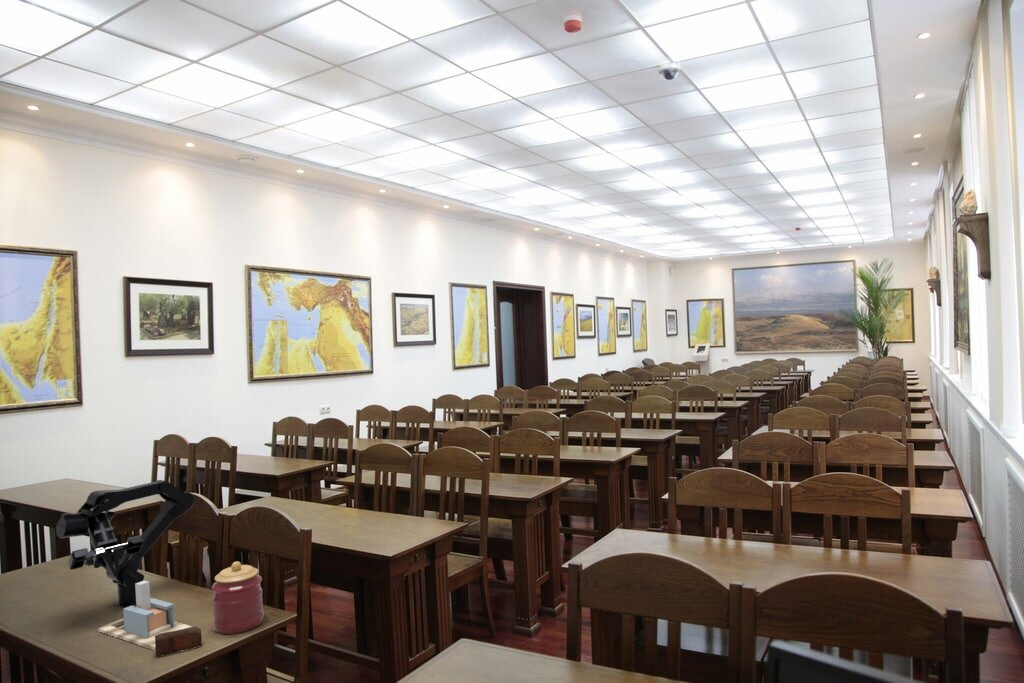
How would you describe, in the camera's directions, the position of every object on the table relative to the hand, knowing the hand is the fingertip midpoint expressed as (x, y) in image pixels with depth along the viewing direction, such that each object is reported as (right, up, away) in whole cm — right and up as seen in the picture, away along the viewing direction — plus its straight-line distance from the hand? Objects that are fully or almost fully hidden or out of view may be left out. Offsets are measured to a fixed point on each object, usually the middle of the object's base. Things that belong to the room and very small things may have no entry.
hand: (115, 576), depth 188 cm
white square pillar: (+14, -12, -7) cm, 20 cm away
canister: (+38, -12, -5) cm, 40 cm away
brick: (+28, -13, -18) cm, 36 cm away
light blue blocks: (+14, -13, -7) cm, 20 cm away
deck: (+13, -13, -6) cm, 19 cm away
